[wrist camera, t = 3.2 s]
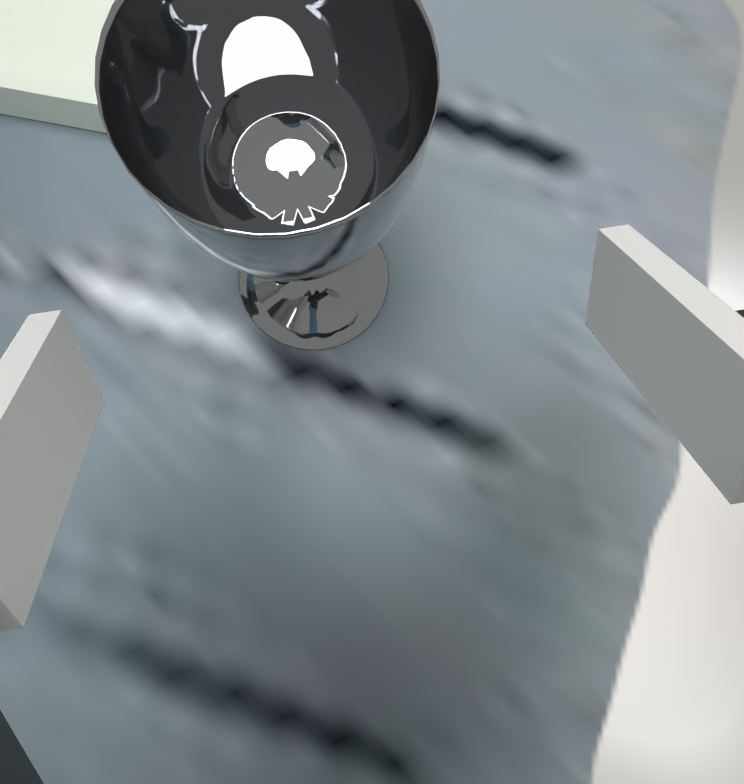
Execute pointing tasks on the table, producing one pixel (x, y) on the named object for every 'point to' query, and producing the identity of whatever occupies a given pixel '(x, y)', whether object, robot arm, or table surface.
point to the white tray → (51, 60)
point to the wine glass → (277, 141)
